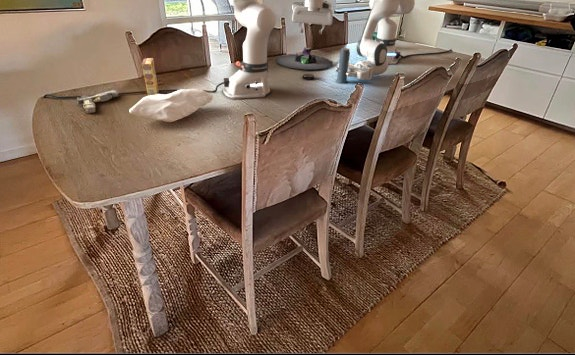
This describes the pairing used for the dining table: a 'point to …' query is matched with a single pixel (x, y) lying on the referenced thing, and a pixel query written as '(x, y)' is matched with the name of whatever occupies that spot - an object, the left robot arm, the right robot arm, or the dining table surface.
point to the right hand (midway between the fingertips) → (341, 72)
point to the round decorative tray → (304, 61)
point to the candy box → (150, 76)
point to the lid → (308, 76)
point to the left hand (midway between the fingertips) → (311, 33)
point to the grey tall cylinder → (343, 65)
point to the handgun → (95, 100)
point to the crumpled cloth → (171, 104)
